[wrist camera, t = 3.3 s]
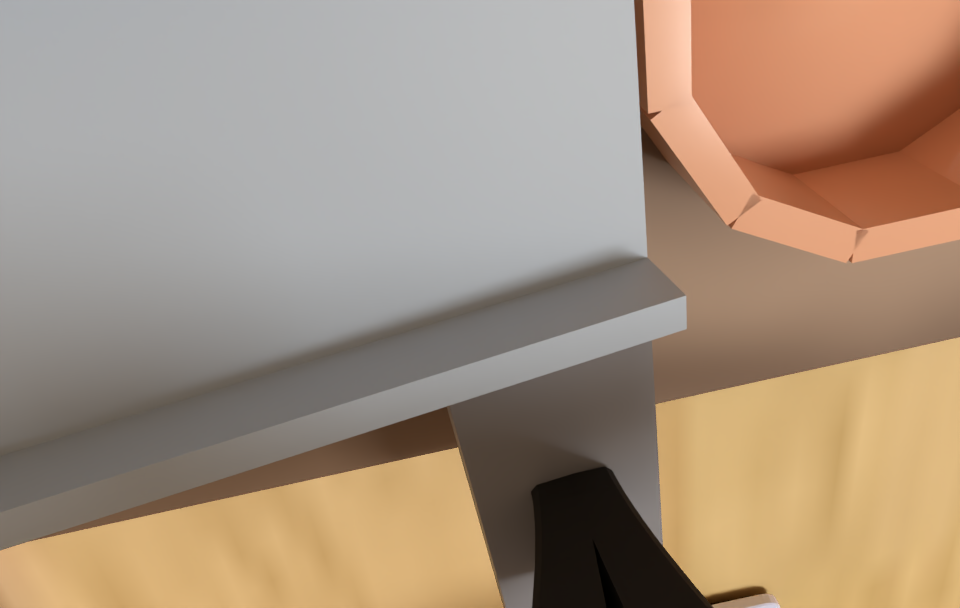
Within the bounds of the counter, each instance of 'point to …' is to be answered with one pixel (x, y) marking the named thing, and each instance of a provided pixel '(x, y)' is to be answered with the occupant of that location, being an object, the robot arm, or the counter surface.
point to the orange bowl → (810, 117)
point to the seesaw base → (693, 327)
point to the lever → (322, 248)
